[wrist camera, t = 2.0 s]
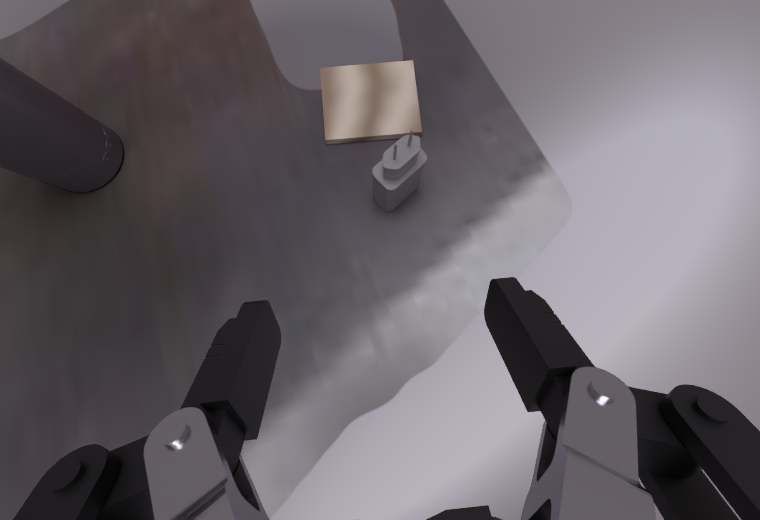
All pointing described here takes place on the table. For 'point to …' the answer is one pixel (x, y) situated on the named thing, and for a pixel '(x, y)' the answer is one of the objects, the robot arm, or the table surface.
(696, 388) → the robot arm
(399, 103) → the birch board
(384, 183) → the power adapter
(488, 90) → the table surface
